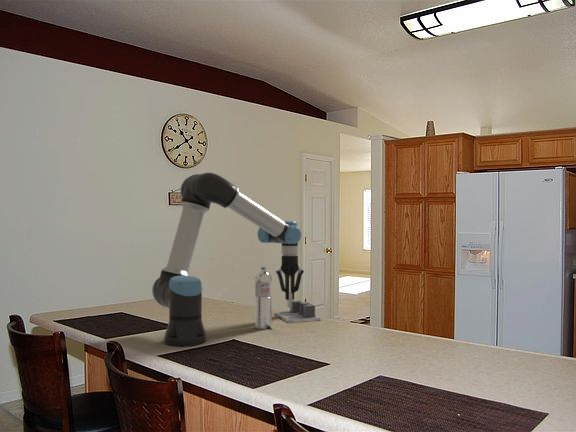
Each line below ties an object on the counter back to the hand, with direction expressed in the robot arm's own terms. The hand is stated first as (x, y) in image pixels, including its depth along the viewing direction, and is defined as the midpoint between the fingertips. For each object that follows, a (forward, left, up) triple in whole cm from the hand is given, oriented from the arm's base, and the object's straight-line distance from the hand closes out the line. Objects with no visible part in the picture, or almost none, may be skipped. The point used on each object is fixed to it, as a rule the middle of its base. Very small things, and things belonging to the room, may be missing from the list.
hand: (289, 306), depth 226 cm
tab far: (0, -3, -4) cm, 5 cm away
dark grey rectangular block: (-12, -5, -4) cm, 14 cm away
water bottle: (-16, +17, -5) cm, 24 cm away
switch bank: (-6, -1, -5) cm, 8 cm away
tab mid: (-6, -5, -4) cm, 9 cm away
